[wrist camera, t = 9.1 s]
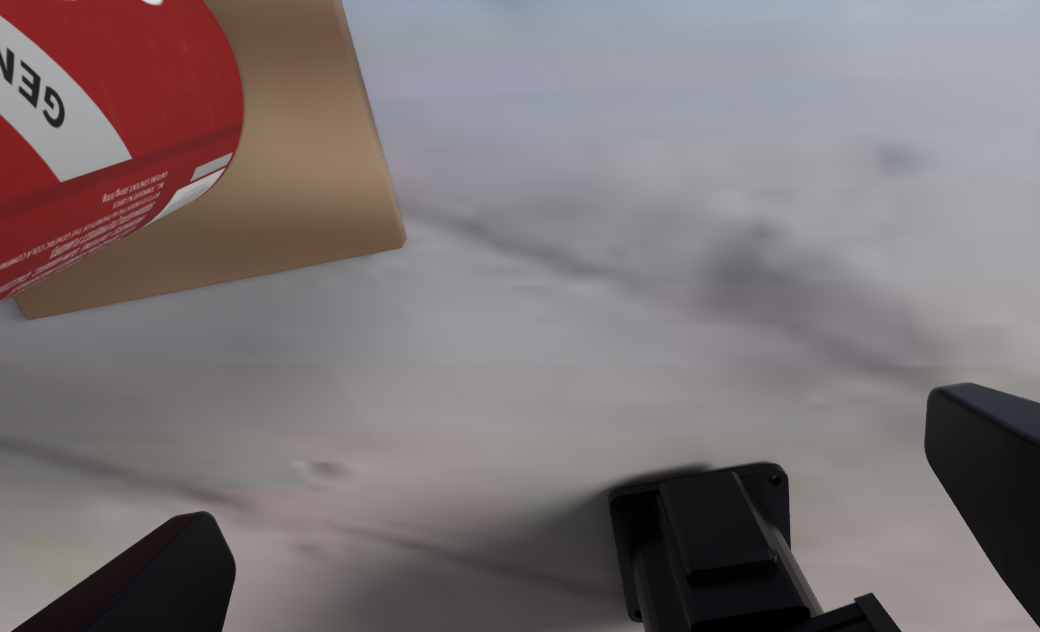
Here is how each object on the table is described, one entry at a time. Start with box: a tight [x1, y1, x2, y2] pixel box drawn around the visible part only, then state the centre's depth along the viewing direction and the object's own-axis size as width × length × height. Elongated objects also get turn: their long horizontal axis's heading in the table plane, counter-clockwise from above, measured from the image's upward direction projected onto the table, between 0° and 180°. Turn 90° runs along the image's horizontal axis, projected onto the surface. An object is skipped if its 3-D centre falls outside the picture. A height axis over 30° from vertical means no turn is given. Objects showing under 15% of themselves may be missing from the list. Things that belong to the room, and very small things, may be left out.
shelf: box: [14, 0, 407, 320], centre depth 16 cm, size 14×12×4 cm
